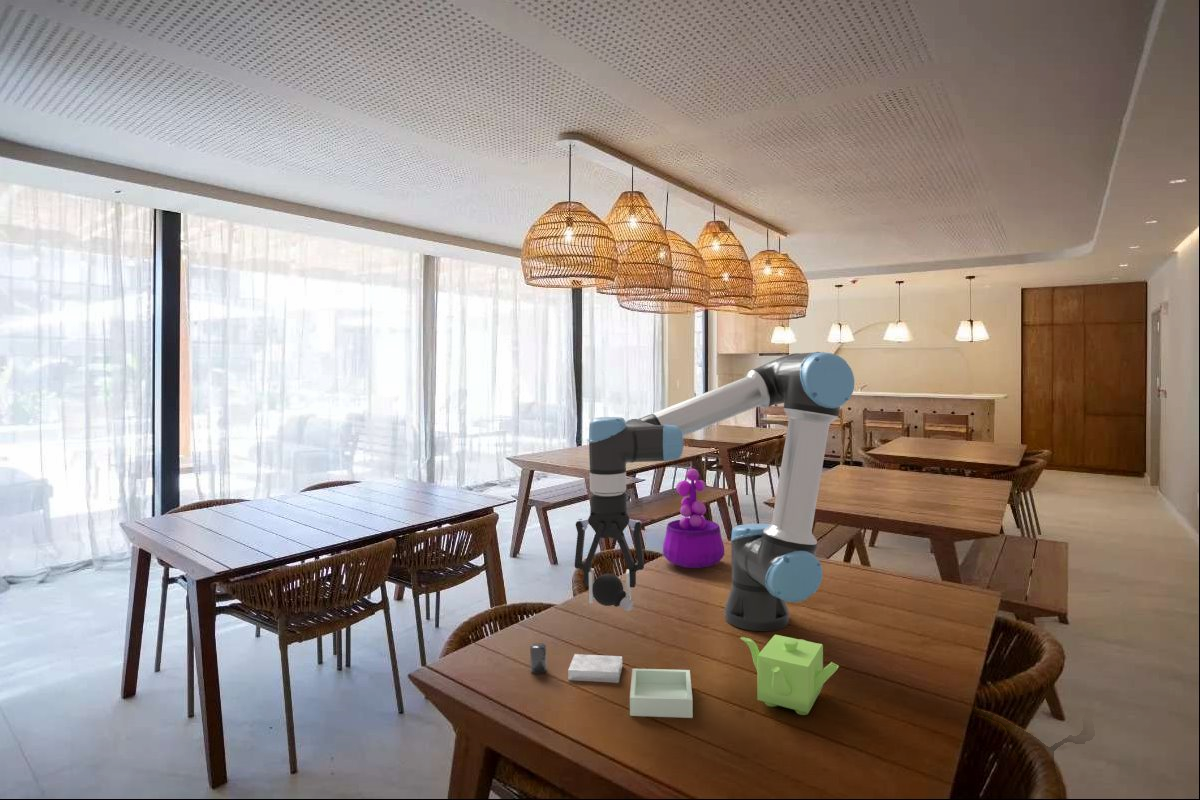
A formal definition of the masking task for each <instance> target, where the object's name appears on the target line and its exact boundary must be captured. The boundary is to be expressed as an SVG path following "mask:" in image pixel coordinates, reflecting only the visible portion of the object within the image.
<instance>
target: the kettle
mask: <svg viewBox="0 0 1200 800" xmlns="http://www.w3.org/2000/svg"><path fill="white" fill-rule="evenodd" d="M740 640H741V641H743V642H744V643H745V644H746V645H747V647H748V648H749V650H750V653H751V657H752V661H753V665H754V667H755V669H756V673H757V675H756V676H757V678H756V681H757V682H756V683H757V684H756V686H757V687H756V688H757V689H756V690H757V693H756V694H757V695H756V697H757V698H756V699H757V701H761V702H764V704H765V705H766V706H767V707H772V708H774V707H778V706H779V707H782V708H786V709H790V710H794V711H795V713H796V714H797V715H800V716H806V715H808V714H809V713H810V711H811V709H813V708H812V707H813V706H814V705H815V702H816V700H817V698H818V696H819V695H820V693H821V692H822V689H823V687H824V684H825V682H827V681H828V680H829V679H830V678H831V677H832V676H833V674H835V672H836V671H837V670H838V668H839V667H840V665H839V664H836V663H834V662H833V661H831V662H830V663H828V664H827V665H826V666H825V667H824V650H823V649H824V645H823V643H816V642H813V641H808V640H805V639H799V638H798V639H797V638H794V637H789V636H783V635H778V634H774V635H773V636H772V637H771V638H770V639H769V641H768V642H767V644H766V645H765V646H764V647H763V648H762V649H761V651H760V650H759V647H758V645H757V643H756V642H755V641H754V640H753V639H751V638H749V637H744V636H743V637H740Z"/></svg>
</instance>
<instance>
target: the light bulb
mask: <svg viewBox="0 0 1200 800" xmlns="http://www.w3.org/2000/svg"><path fill="white" fill-rule="evenodd" d="M592 592H593V596H594V598H595V599H594V600H595V601H596V602H597V603H598V604H600V605H602V606H605V607H609V606H610V607H611V606H614V607H619V606H620V607H621V608H622V609H624V610H625V611H626V612H630V611H631V610H632V609H633V608H634V601H632V599H631V600H630V599H628V598H627V597H626V590H624V585H623V583H622V581H621V579H620V578H619V576H616V575H615V574H613V573H603V574H601V575H599V576H598V577H597V578H596V579H594V584H593V588H592Z"/></svg>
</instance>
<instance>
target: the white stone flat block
mask: <svg viewBox="0 0 1200 800" xmlns="http://www.w3.org/2000/svg"><path fill="white" fill-rule="evenodd" d="M622 669H623V656H620V655H603V654H601V655H600V654H599V655H598V654H584V653H583V654H582V653H581V654H578V653H574V655H573V657H572V660H571V662H570V664H569V668H568V670H567V671H568V672H567V673H568V675H567V677H568V679H567V680H568V681H579V682H581V681H582V682H598V683H601V682H602V683H603V682H604V683H616V684H617V683H619V682H620V678H621V674H622Z"/></svg>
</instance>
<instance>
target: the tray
mask: <svg viewBox="0 0 1200 800" xmlns="http://www.w3.org/2000/svg"><path fill="white" fill-rule="evenodd" d="M631 669H632V670H631V681H630V691H629V716H630V717H632V716H633V717H657V718H683V719H687V718H688V719H693V711H694V710H693V705H694V704H693V700H694V699H693V692H692V691H693V690H692V681H691V670H690V669H671V668H670V669H666V668H665V669H661V668H658V669H657V668H631Z"/></svg>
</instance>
